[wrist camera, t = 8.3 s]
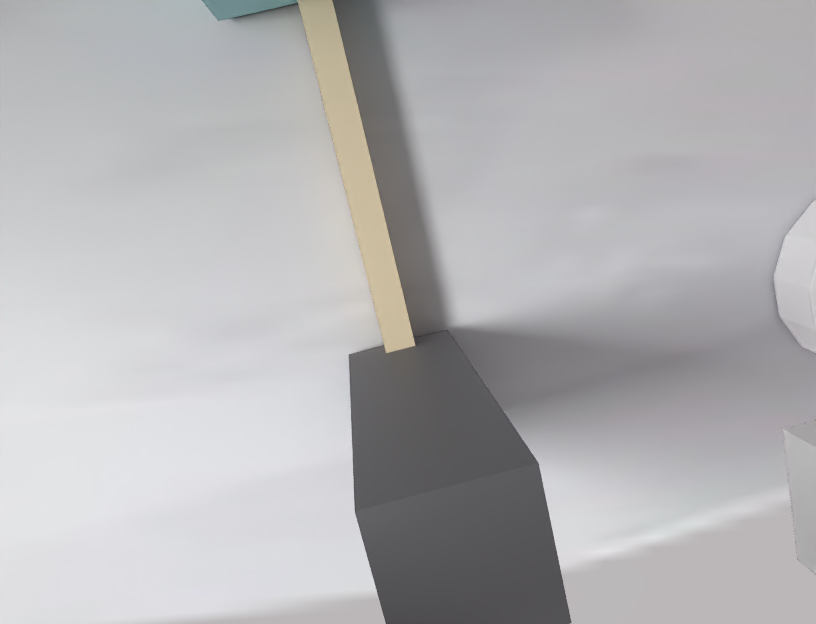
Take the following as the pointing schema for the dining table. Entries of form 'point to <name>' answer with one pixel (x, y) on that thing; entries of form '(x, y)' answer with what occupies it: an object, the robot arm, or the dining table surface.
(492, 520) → the double-ended block stick
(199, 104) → the dining table surface
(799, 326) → the white cup
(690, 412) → the dining table surface
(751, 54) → the dining table surface
